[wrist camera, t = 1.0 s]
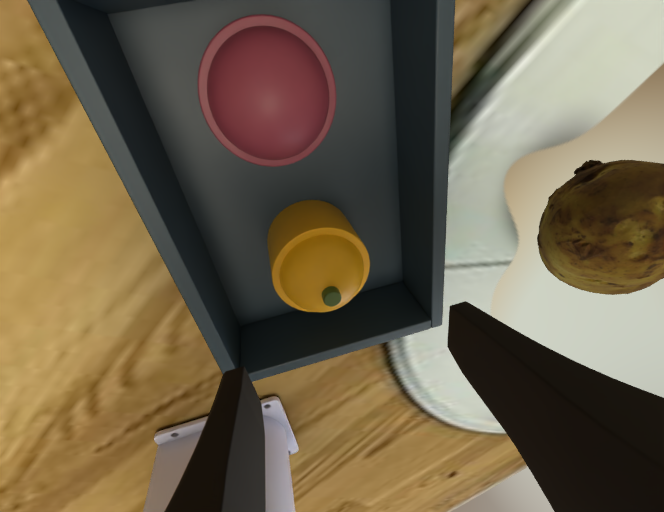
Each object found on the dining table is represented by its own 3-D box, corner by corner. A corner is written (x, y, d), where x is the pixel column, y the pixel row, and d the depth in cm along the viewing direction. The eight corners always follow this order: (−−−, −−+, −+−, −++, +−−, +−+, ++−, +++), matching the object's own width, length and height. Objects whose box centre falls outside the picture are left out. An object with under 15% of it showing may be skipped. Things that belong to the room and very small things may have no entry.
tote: (232, 330, 21) (230, 389, 17) (83, -4, 12) (7, -38, 8) (408, 281, 23) (442, 325, 19) (397, -51, 13) (460, -99, 9)
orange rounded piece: (278, 283, 19) (290, 353, 15) (256, 211, 17) (261, 268, 12) (354, 263, 20) (389, 324, 15) (344, 190, 17) (381, 237, 13)
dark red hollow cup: (227, 160, 15) (222, 196, 11) (186, 35, 13) (158, 20, 8) (328, 138, 16) (359, 164, 12) (309, 14, 13) (340, -10, 9)
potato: (527, 304, 27) (621, 383, 20) (488, 181, 20) (611, 239, 13) (618, 249, 26) (747, 312, 19) (610, 101, 19) (807, 119, 12)
